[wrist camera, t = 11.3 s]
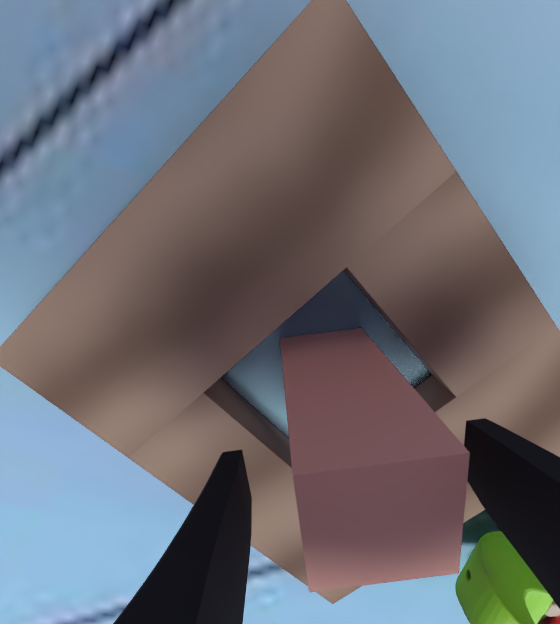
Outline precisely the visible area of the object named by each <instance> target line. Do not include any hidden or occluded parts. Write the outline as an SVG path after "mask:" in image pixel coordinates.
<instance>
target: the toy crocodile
mask: <svg viewBox="0 0 560 624" xmlns="http://www.w3.org/2000/svg"><path fill="white" fill-rule="evenodd" d="M456 595H457V597H458V600H459V602H460V604H461V607H462V609H463V611H464V613H465V615H466V617H467V619H468V621H469V622H470V624H560V609H559V607H558V606H557V605H556V603H555V602H554V600H553V599H552V598H551V596H550V595H549V593H548V592H547V591H546V589H545V588H544V587H543V585H542V584H541V583H540V582H539V580H538V579H537V578H536V576H535V575H534V574H533V572H532V571H531V570H530V568H529V567H528V566H527V564H526V563H525V562H524V560H523V559H522V558H521V556H520V555H519V554H518V552H517V551H516V550H515V549H514V547H513V546H512V545H511V543H510V542H509V541H508V539H507V538H506V537H505V535H504V534H503V533H502V531H496V532H489V533H487V534H485V535H483V536H482V537H481V538H480V539H479V541H478V543H477V545H476V547H475V548H474V550H473V552H472V554H471V556H470V557H469V559H468V561H467V562H466V564H465V566H464V568H463V569H462V571H461V573H460V574H459V576H458V578H457V581H456Z"/></svg>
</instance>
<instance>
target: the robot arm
mask: <svg viewBox="0 0 560 624" xmlns="http://www.w3.org/2000/svg"><path fill="white" fill-rule="evenodd" d="M464 447H465V448H466V449H467V450H468V451H469V452H470V457H469V468H468V479H467V481H468V483H469V484H470V486H471V488H472V490H473V491H474V493H475V494H476V496H477V498H478V499H479V501H480V502H481V504H482V506H483V507H484V508H485V510H486V511H487V512H488V514H489V515H490V517H491V518H492V519H493V521H494V522H495V523H496V525H497V526H498V527H499V529H500V530H501V531H502V533H503V534H504V535H505V537H506V538H507V539H508V541H509V542H510V543H511V545H512V546H513V547H514V549H515V550H516V551H517V552H518V554H519V555H520V556H521V558H522V559H523V560H524V562H525V563H526V564H527V566H528V567H529V568H530V570H531V571H532V572H533V574H534V575H535V576H536V578H537V579H538V580H539V582H540V583H541V584H542V585H543V587H544V588H545V589H546V591H547V592H548V593H549V595H550V596H551V598H552V599H553V600H554V602H555V603H556V605H557V606H558V607H559V609H560V457H559V456H557V455H555V454H553V453H551V452H549V451H547V450H545V449H543V448H542V447H540V446H538V445H536V444H534V443H532V442H530V441H528V440H527V439H525V438H523V437H521V436H519V435H517V434H515V433H513V432H512V431H510V430H508V429H506V428H504V427H502V426H500V425H498V424H496V423H494V422H492V421H490V420H488V419H486V418H483V419H475V420H467V421H466V428H465V439H464ZM251 531H252V497H251V492H250V486H249V481H248V476H247V471H246V466H245V461H244V456H243V451H242V450H235V451H227V452H223V453H222V454H221V455H220V457H219V459H218V461H217V463H216V465H215V467H214V469H213V471H212V473H211V475H210V477H209V479H208V481H207V483H206V484H205V486H204V488H203V490H202V492H201V494H200V495H199V497H198V499H197V501H196V502H195V504H194V506H193V507H192V509H191V511H190V513H189V514H188V516H187V518H186V520H185V521H184V523H183V524H182V526H181V528H180V529H179V531H178V532H177V534H176V535H175V537H174V539H173V540H172V542H171V543H170V545H169V546H168V548H167V550H166V551H165V553H164V554H163V556H162V557H161V559H160V560H159V562H158V563H157V565H156V566H155V568H154V569H153V571H152V572H151V573H150V575H149V576H148V578H147V579H146V581H145V582H144V583H143V585H142V586H141V587H140V589H139V590H138V592H137V593H136V594H135V596H134V597H133V599H132V600H131V601H130V603H129V604H128V605H127V607H126V608H125V609H124V611H123V612H122V613H121V614H120V616H119V617H118V618H117V620H116V621H115V622H114V623H113V624H242V622H243V613H244V603H245V594H246V584H247V574H248V565H249V555H250V545H251Z"/></svg>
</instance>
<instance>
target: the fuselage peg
mask: <svg viewBox="0 0 560 624" xmlns="http://www.w3.org/2000/svg"><path fill="white" fill-rule="evenodd" d="M280 345H281V356H282V366H283V377H284V388H285V399H286V409H287V420H288V431H289V442H290V452H291V463H292V474H293V481H294V488H295V495H296V502H297V509H298V516H299V523H300V530H301V537H302V544H303V551H304V558H305V565H306V573H307V580H308V587H309V592H315V591H323V590H331V589H339V588H347V587H355V586H363V585H370V584H378V583H386V582H394V581H402V580H410V579H418V578H425V577H433V576H441V575H449V574H457V573H459V566H460V555H461V544H462V533H463V522H464V511H465V500H466V490H467V479H468V468H469V457H470V452H469V451H468V450H467V449H466V448H465V447H464V445H463V444H462V443H461V442H460V441H459V440H458V439H457V437H456V436H455V435H454V434H453V433H452V432H451V430H450V429H449V428H448V427H447V426H446V425H445V424H444V422H443V421H442V420H441V419H440V418H439V417H438V415H437V414H436V413H435V412H434V411H433V410H432V409H431V407H430V406H429V405H428V404H427V403H426V402H425V400H424V399H423V398H422V397H421V396H420V395H419V394H418V392H417V391H416V390H415V389H414V388H413V387H412V385H411V384H410V383H409V382H408V381H407V380H406V379H405V377H404V376H403V375H402V374H401V373H400V372H399V370H398V369H397V368H396V367H395V366H394V365H393V364H392V362H391V361H390V360H389V359H388V358H387V357H386V355H385V354H384V353H383V352H382V351H381V350H380V349H379V347H378V346H377V345H376V344H375V343H374V342H373V341H372V339H371V338H370V337H369V336H368V335H367V334H366V332H365V331H364V330H363V329H362V328H354V329H347V330H339V331H331V332H324V333H316V334H308V335H301V336H293V337H285V338H280Z"/></svg>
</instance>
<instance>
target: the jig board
mask: <svg viewBox="0 0 560 624" xmlns="http://www.w3.org/2000/svg"><path fill="white" fill-rule="evenodd" d="M343 270H344V271H345V272H346V274H347V275H348V276H349V277H350V278H351V279H352V281H353V282H354V283H355V284H356V285H357V287H358V288H359V289H360V290H361V291H362V292H363V294H364V295H365V296H366V297H367V298H368V299H369V301H370V302H371V303H372V304H373V305H374V307H375V308H376V309H377V310H378V311H379V312H380V314H381V315H382V316H383V317H384V318H385V320H386V321H387V322H388V323H389V324H390V325H391V327H392V328H393V329H394V330H395V331H396V332H397V334H398V335H399V336H400V337H401V338H402V340H403V341H404V342H405V343H406V344H407V345H408V347H409V348H410V349H411V350H412V351H413V353H414V354H415V355H416V356H417V357H418V358H419V360H420V361H421V362H422V363H423V364H424V365H425V367H426V368H427V369H428V370H429V371H430V373H431V374H432V375H431V376H430V377H429V378H427V379H426V380H425V381H423V382H422V383H421V384H419V385H418V386H417V387H415V388H414V389H415V390H416V391H417V392H418V394H419V395H420V396H421V397H422V398H423V399H424V400H425V402H426V403H427V404H428V405H429V406H430V407H431V409H432V410H433V411H434V412H435V413H436V414H437V415H438V417H439V418H440V419H441V420H442V421H443V422H444V424H445V425H446V426H447V427H448V428H449V429H450V430H451V432H452V433H453V434H454V435H455V436H456V437H457V439H458V440H459V441H460V442H461V443H462V444H463V445H464V439H465V428H466V421H467V420H475V419H483V418H486V419H488V420H490V421H492V422H494V423H496V424H498V425H500V426H502V427H504V428H506V429H508V430H510V431H512V432H513V433H515V434H517V435H519V436H521V437H523V438H525V439H527V440H528V441H530V442H532V443H534V444H536V445H538V446H540V447H542V448H543V449H545V450H547V451H549V452H551V453H553V454H555V455H557V456H559V457H560V331H559V329H558V328H557V326H556V325H555V323H554V322H553V320H552V319H551V317H550V315H549V314H548V312H547V311H546V309H545V308H544V306H543V305H542V303H541V302H540V300H539V298H538V297H537V295H536V294H535V292H534V291H533V289H532V288H531V286H530V284H529V283H528V281H527V280H526V278H525V277H524V275H523V274H522V272H521V271H520V269H519V267H518V266H517V264H516V263H515V261H514V260H513V258H512V257H511V255H510V253H509V252H508V250H507V249H506V247H505V246H504V244H503V243H502V241H501V240H500V238H499V236H498V235H497V233H496V232H495V230H494V229H493V227H492V226H491V224H490V223H489V221H488V219H487V218H486V216H485V215H484V213H483V212H482V210H481V209H480V207H479V205H478V204H477V202H476V201H475V199H474V198H473V196H472V195H471V193H470V192H469V190H468V188H467V187H466V185H465V184H464V182H463V181H462V179H461V178H460V176H459V174H458V173H457V171H456V170H455V168H454V167H453V165H452V164H451V162H450V161H449V159H448V157H447V156H446V154H445V153H444V151H443V150H442V148H441V147H440V145H439V144H438V142H437V140H436V139H435V137H434V136H433V134H432V133H431V131H430V130H429V128H428V126H427V125H426V123H425V122H424V120H423V119H422V117H421V116H420V114H419V113H418V111H417V109H416V108H415V106H414V105H413V103H412V102H411V100H410V99H409V97H408V95H407V94H406V92H405V91H404V89H403V88H402V86H401V85H400V83H399V82H398V80H397V78H396V77H395V75H394V74H393V72H392V71H391V69H390V68H389V66H388V65H387V63H386V61H385V60H384V58H383V57H382V55H381V54H380V52H379V51H378V49H377V47H376V46H375V44H374V43H373V41H372V40H371V38H370V37H369V35H368V34H367V32H366V30H365V29H364V27H363V26H362V24H361V23H360V21H359V20H358V18H357V16H356V15H355V13H354V12H353V10H352V9H351V7H350V6H349V4H348V3H347V1H346V0H312V1H311V2H310V3H309V4H308V5H307V7H306V8H305V9H304V10H303V11H302V12H301V13H300V14H299V15H298V17H297V18H296V19H295V20H294V21H293V22H292V23H291V24H290V25H289V27H288V28H287V29H286V30H285V31H284V32H283V33H282V34H281V35H280V36H279V38H278V39H277V40H276V41H275V42H274V43H273V44H272V45H271V46H270V48H269V49H268V50H267V51H266V52H265V53H264V54H263V55H262V56H261V58H260V59H259V60H258V61H257V62H256V63H255V64H254V65H253V66H252V68H251V69H250V70H249V71H248V72H247V73H246V74H245V75H244V76H243V78H242V79H241V80H240V81H239V82H238V83H237V84H236V85H235V86H234V88H233V89H232V90H231V91H230V92H229V93H228V94H227V95H226V96H225V98H224V99H223V100H222V101H221V102H220V103H219V104H218V105H217V106H216V108H215V109H214V110H213V111H212V112H211V113H210V114H209V115H208V116H207V118H206V119H205V120H204V121H203V122H202V123H201V124H200V125H199V126H198V128H197V129H196V130H195V131H194V132H193V133H192V134H191V135H190V136H189V138H188V139H187V140H186V141H185V142H184V143H183V144H182V145H181V146H180V148H179V149H178V150H177V151H176V152H175V153H174V154H173V155H172V156H171V158H170V159H169V160H168V161H167V162H166V163H165V164H164V165H163V166H162V168H161V169H160V170H159V171H158V172H157V173H156V174H155V175H154V176H153V178H152V179H151V180H150V181H149V182H148V183H147V184H146V185H145V186H144V188H143V189H142V190H141V191H140V192H139V193H138V194H137V195H136V196H135V198H134V199H133V200H132V201H131V202H130V203H129V204H128V205H127V206H126V208H125V209H124V210H123V211H122V212H121V213H120V214H119V215H118V216H117V218H116V219H115V220H114V221H113V222H112V223H111V224H110V225H109V226H108V228H107V229H106V230H105V231H104V232H103V233H102V234H101V235H100V236H99V238H98V239H97V240H96V241H95V242H94V243H93V244H92V245H91V246H90V248H89V249H88V250H87V251H86V252H85V253H84V254H83V255H82V256H81V258H80V259H79V260H78V261H77V262H76V263H75V264H74V265H73V266H72V268H71V269H70V270H69V271H68V272H67V273H66V274H65V275H64V276H63V278H62V279H61V280H60V281H59V282H58V283H57V284H56V285H55V286H54V288H53V289H52V290H51V291H50V292H49V293H48V294H47V295H46V296H45V298H44V299H43V300H42V301H41V302H40V303H39V304H38V305H37V306H36V308H35V309H34V310H33V311H32V312H31V313H30V314H29V315H28V316H27V318H26V319H25V320H24V321H23V322H22V323H21V324H20V325H19V326H18V328H17V329H16V330H15V331H14V332H13V333H12V334H11V335H10V336H9V338H8V339H7V340H6V341H5V342H4V343H3V344H2V345H1V346H0V366H1V367H2V368H3V369H5V370H6V371H8V372H9V373H10V374H12V375H13V376H15V377H16V378H17V379H19V380H20V381H22V382H23V383H24V384H26V385H27V386H29V387H30V388H31V389H33V390H34V391H36V392H37V393H38V394H40V395H41V396H43V397H44V398H45V399H47V400H48V401H50V402H51V403H52V404H54V405H55V406H57V407H58V408H59V409H61V410H62V411H64V412H65V413H66V414H68V415H69V416H71V417H72V418H73V419H75V420H76V421H78V422H79V423H80V424H82V425H83V426H85V427H86V428H87V429H89V430H90V431H92V432H93V433H94V434H96V435H97V436H98V437H100V438H101V439H103V440H104V441H105V442H107V443H108V444H110V445H111V446H112V447H114V448H115V449H117V450H118V451H119V452H121V453H122V454H124V455H125V456H126V457H128V458H129V459H131V460H132V461H133V462H135V463H136V464H138V465H139V466H140V467H142V468H143V469H145V470H146V471H147V472H149V473H150V474H152V475H153V476H154V477H156V478H157V479H159V480H160V481H161V482H163V483H164V484H166V485H167V486H168V487H170V488H171V489H173V490H174V491H175V492H177V493H178V494H180V495H181V496H182V497H184V498H185V499H187V500H188V501H189V502H191V503H192V504H195V502H196V501H197V499H198V497H199V495H200V494H201V492H202V490H203V488H204V486H205V484H206V483H207V481H208V479H209V477H210V475H211V473H212V471H213V469H214V467H215V465H216V463H217V461H218V459H219V457H220V455H221V454H222V453H223V452H227V451H235V450H242V451H243V456H244V461H245V466H246V471H247V476H248V481H249V486H250V492H251V497H252V531H251V546H252V547H254V548H255V549H256V550H258V551H259V552H261V553H262V554H263V555H265V556H266V557H268V558H269V559H270V560H272V561H273V562H275V563H276V564H277V565H279V566H280V567H282V568H283V569H284V570H286V571H287V572H289V573H290V574H291V575H293V576H294V577H296V578H297V579H298V580H300V581H301V582H303V583H304V584H305V585H307V586H308V580H307V573H306V565H305V558H304V551H303V544H302V537H301V530H300V523H299V516H298V509H297V502H296V495H295V488H294V481H293V474H292V463H291V452H290V442H289V438H288V437H287V436H286V435H285V434H283V433H282V432H281V431H280V430H279V429H278V428H277V427H275V426H274V425H273V424H272V423H271V422H270V421H269V420H268V419H266V418H265V417H264V416H263V415H262V414H261V413H260V412H259V411H257V410H256V409H255V408H254V407H253V406H252V405H251V404H249V403H248V402H247V401H246V400H245V399H244V398H243V397H242V396H240V395H239V394H238V393H237V392H236V391H235V390H234V389H233V388H231V387H230V386H229V385H228V384H227V383H226V382H225V381H223V380H222V379H221V377H222V376H223V375H224V374H225V373H226V372H227V371H229V370H230V369H231V368H232V367H233V366H234V365H235V364H237V363H238V362H239V361H240V360H241V359H242V358H243V357H245V356H246V355H247V354H248V353H249V352H250V351H251V350H253V349H254V348H255V347H256V346H257V345H258V344H259V343H261V342H262V341H263V340H264V339H265V338H266V337H267V336H269V335H270V334H271V333H272V332H273V331H274V330H275V329H277V328H278V327H279V326H280V325H281V324H282V323H283V322H285V321H286V320H287V319H288V318H289V317H290V316H291V315H293V314H294V313H295V312H296V311H297V310H298V309H299V308H301V307H302V306H303V305H304V304H305V303H306V302H308V301H309V300H310V299H311V298H312V297H313V296H314V295H316V294H317V293H318V292H319V291H320V290H321V289H322V288H324V287H325V286H326V285H327V284H328V283H329V282H330V281H332V280H333V279H334V278H335V277H336V276H337V275H338V274H340V273H341V272H342V271H343ZM484 510H485V508H484V507H483V506H482V504H481V502H480V501H479V499H478V498H477V496H476V494H475V493H474V491H473V490H472V488H471V486H470V484H469V483H468V481H467V490H466V500H465V511H464V522H466V521H467V520H469V519H471V518H472V517H474V516H476V515H477V514H479V513H480V512H482V511H484ZM464 522H463V523H464ZM359 587H361V586H355V587H347V588H339V589H331V590H323V591H315V592H317V593H318V594H319V595H321V596H322V597H324V598H325V599H326V600H328V601H329V602H331V603H332V604H334V603H335V602H337V601H338V600H340V599H342V598H343V597H345V596H347V595H348V594H350V593H351V592H353V591H355V590H356V589H358V588H359Z"/></svg>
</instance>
